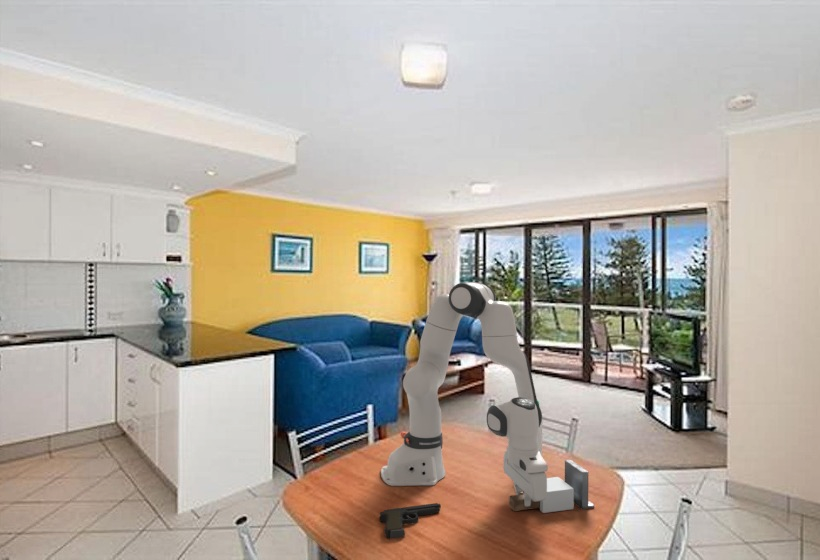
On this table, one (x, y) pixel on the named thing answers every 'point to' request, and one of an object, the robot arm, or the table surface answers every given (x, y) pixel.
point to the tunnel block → (557, 496)
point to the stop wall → (578, 483)
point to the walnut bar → (521, 503)
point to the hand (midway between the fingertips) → (523, 501)
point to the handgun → (404, 518)
